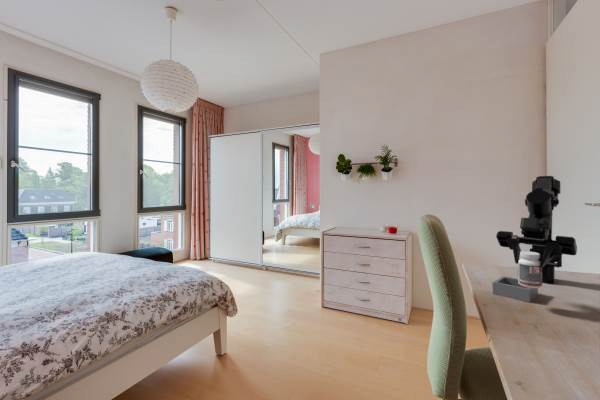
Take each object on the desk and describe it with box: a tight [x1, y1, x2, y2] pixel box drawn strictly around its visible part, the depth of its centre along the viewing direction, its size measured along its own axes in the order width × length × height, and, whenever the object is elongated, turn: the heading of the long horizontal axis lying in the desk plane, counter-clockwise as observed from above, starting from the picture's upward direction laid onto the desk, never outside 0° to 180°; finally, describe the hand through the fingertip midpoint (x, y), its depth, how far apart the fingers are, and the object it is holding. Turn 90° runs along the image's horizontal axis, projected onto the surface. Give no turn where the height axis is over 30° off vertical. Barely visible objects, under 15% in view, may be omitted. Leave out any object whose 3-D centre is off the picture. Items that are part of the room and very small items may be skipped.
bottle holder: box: [492, 275, 539, 303], centre depth 95 cm, size 10×10×4 cm
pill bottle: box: [517, 250, 543, 289], centre depth 85 cm, size 6×6×10 cm
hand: (528, 264), depth 84 cm, fingers closed on pill bottle, 6 cm apart
